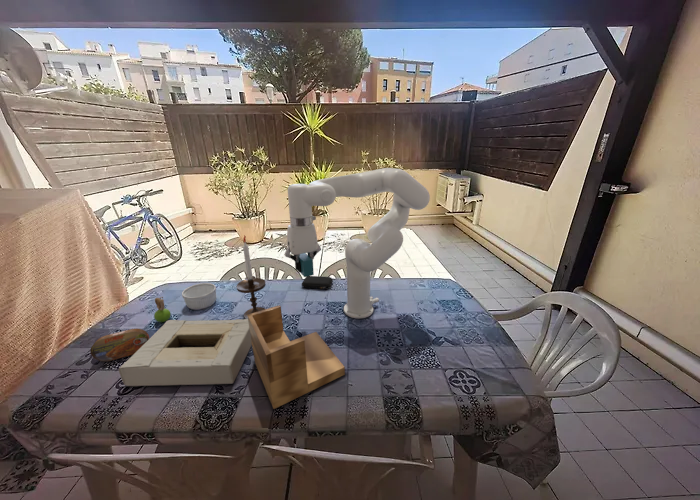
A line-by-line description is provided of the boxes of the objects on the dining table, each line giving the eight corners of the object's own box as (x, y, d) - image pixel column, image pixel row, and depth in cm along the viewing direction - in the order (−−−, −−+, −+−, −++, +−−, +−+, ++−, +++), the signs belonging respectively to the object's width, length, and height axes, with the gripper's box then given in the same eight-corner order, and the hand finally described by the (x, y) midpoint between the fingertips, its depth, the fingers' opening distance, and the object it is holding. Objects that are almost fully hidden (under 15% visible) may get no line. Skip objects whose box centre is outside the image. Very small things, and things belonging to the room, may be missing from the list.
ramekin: (223, 302, 121) (220, 289, 119) (192, 315, 112) (188, 300, 110) (210, 293, 130) (208, 280, 127) (180, 304, 120) (177, 290, 118)
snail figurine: (161, 327, 105) (153, 300, 100) (153, 322, 108) (145, 295, 104) (176, 320, 109) (169, 294, 105) (167, 315, 112) (160, 290, 108)
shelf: (316, 338, 98) (314, 294, 92) (344, 374, 82) (344, 325, 76) (254, 362, 87) (247, 314, 81) (273, 409, 71) (266, 354, 65)
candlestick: (273, 316, 111) (263, 235, 99) (246, 326, 105) (232, 240, 93) (263, 305, 119) (253, 228, 107) (238, 313, 113) (224, 233, 101)
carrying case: (300, 289, 132) (329, 291, 131) (299, 284, 131) (329, 285, 130) (305, 279, 142) (333, 281, 141) (305, 274, 141) (333, 276, 140)
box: (258, 333, 101) (170, 335, 100) (255, 316, 98) (165, 317, 97) (236, 385, 79) (123, 388, 78) (232, 365, 77) (115, 367, 75)
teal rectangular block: (304, 266, 104) (303, 251, 102) (313, 274, 96) (312, 259, 94) (295, 268, 102) (294, 253, 100) (304, 277, 95) (303, 261, 93)
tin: (94, 365, 86) (85, 343, 83) (98, 358, 89) (89, 337, 86) (151, 349, 93) (144, 329, 90) (152, 344, 96) (146, 324, 93)
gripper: (319, 216, 99) (321, 262, 106) (274, 221, 92) (279, 271, 98) (327, 220, 93) (329, 269, 100) (280, 226, 86) (285, 279, 92)
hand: (304, 269), depth 99 cm, fingers closed on teal rectangular block, 3 cm apart
